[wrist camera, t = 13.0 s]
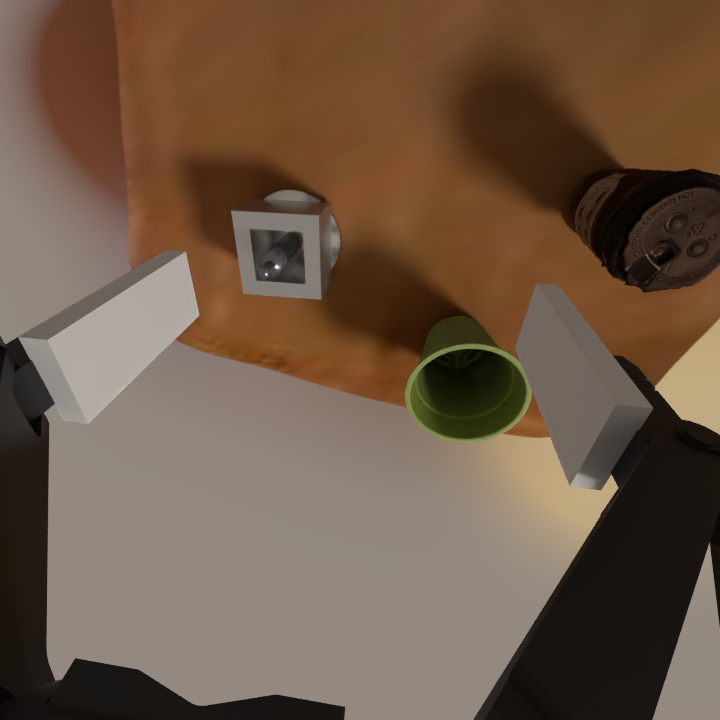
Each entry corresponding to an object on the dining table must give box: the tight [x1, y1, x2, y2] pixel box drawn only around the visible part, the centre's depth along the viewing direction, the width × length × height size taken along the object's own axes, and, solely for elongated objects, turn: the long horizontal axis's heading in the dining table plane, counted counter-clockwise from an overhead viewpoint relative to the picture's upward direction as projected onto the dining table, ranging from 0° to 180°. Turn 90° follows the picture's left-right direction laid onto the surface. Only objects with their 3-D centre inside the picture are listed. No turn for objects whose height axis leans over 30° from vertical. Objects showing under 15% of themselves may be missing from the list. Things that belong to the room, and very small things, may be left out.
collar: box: [231, 199, 332, 299], centre depth 39 cm, size 8×8×6 cm
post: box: [257, 189, 341, 280], centre depth 37 cm, size 10×10×11 cm
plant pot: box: [405, 316, 532, 443], centre depth 41 cm, size 12×12×11 cm
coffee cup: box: [567, 168, 720, 293], centre depth 31 cm, size 9×8×13 cm
